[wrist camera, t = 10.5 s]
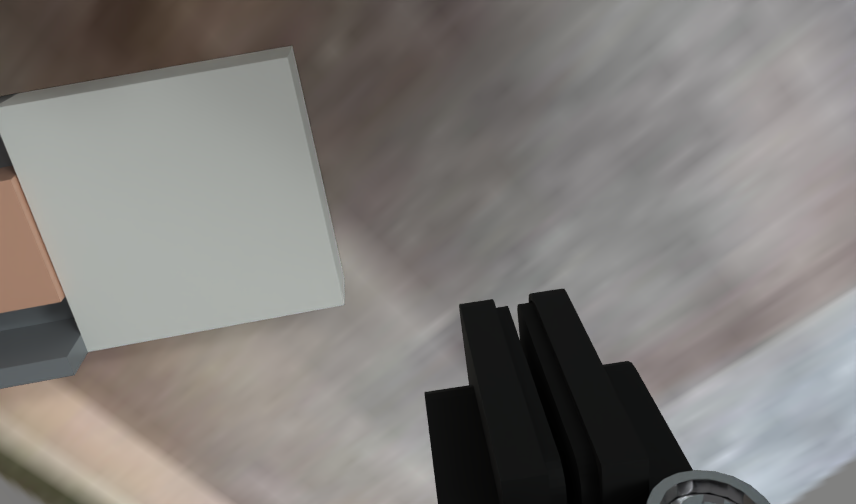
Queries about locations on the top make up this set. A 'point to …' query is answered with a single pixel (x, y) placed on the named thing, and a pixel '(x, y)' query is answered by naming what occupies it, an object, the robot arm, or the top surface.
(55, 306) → the bin
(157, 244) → the plate
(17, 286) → the tile
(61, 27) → the top surface
